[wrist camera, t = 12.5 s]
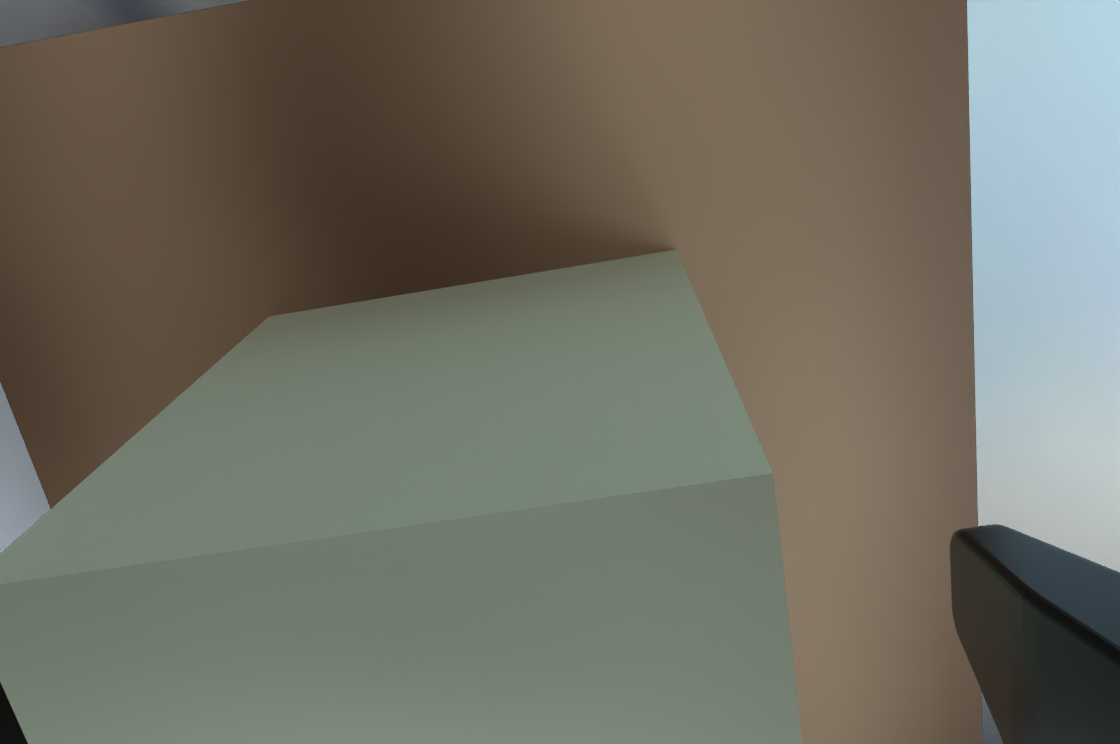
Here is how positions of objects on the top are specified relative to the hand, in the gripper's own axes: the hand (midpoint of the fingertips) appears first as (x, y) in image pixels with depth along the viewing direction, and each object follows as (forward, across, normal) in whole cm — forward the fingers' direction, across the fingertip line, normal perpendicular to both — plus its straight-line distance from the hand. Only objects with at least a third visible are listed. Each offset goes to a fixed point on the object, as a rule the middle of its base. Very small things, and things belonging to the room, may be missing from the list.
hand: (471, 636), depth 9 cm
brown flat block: (+8, 0, 0) cm, 8 cm away
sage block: (+4, 0, 0) cm, 4 cm away
